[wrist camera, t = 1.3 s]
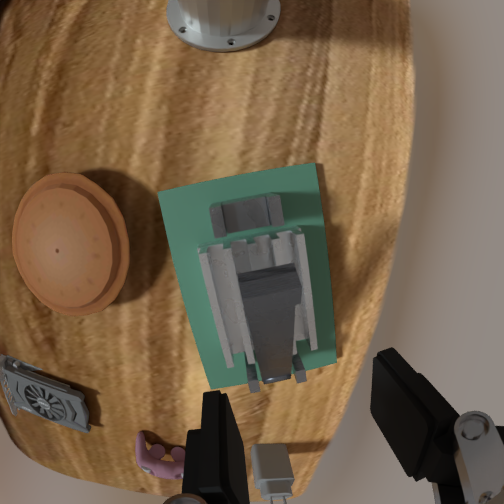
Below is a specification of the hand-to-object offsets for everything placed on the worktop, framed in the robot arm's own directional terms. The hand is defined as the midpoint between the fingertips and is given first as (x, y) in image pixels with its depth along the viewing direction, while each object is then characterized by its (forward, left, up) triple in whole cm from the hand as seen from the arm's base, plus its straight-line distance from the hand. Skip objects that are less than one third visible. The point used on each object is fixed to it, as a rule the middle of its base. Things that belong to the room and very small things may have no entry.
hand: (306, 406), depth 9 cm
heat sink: (+4, 0, -22) cm, 23 cm away
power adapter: (+32, -3, -24) cm, 40 cm away
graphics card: (+17, -36, -24) cm, 46 cm away
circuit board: (+4, 0, -23) cm, 24 cm away
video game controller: (+28, -18, -24) cm, 41 cm away
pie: (-5, -19, -24) cm, 31 cm away
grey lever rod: (+5, 0, -13) cm, 14 cm away
